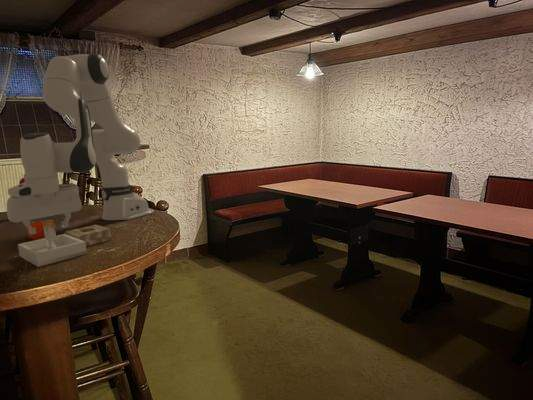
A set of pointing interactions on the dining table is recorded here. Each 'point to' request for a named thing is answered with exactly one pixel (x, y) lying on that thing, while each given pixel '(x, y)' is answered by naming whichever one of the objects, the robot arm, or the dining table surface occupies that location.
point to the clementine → (37, 230)
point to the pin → (50, 234)
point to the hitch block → (91, 234)
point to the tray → (52, 250)
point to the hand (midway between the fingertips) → (49, 230)
